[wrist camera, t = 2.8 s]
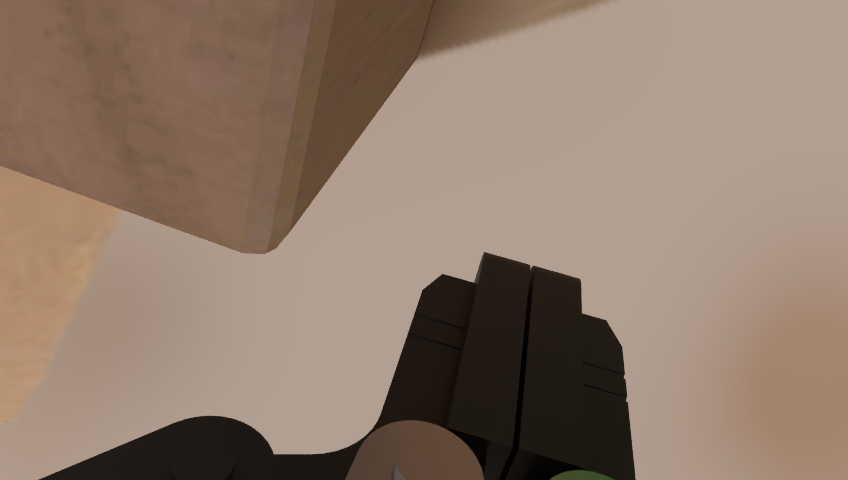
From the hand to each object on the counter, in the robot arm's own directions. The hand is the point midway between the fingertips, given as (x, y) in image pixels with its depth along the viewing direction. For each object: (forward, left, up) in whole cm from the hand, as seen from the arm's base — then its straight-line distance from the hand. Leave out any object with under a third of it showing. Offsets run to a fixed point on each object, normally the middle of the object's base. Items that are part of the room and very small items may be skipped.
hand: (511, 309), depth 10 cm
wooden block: (0, -10, -26) cm, 28 cm away
